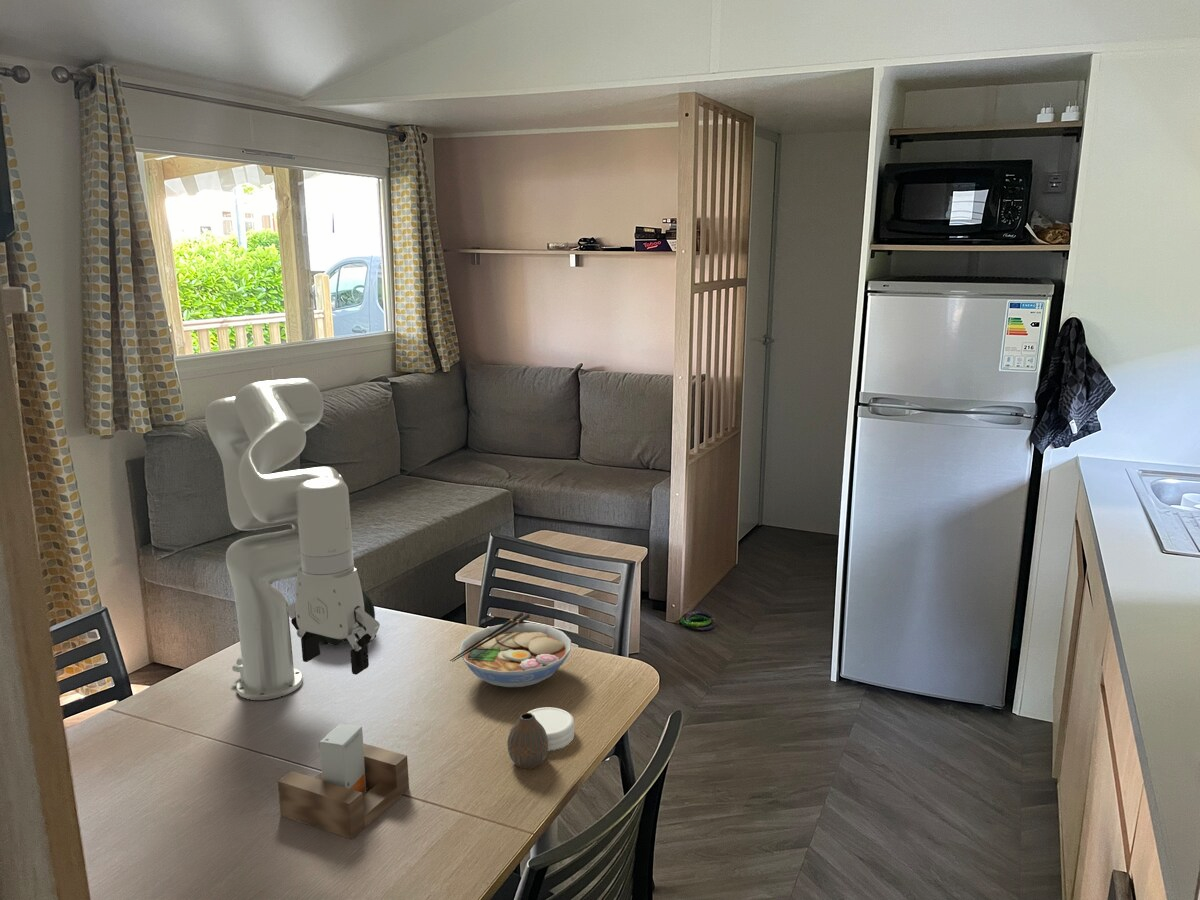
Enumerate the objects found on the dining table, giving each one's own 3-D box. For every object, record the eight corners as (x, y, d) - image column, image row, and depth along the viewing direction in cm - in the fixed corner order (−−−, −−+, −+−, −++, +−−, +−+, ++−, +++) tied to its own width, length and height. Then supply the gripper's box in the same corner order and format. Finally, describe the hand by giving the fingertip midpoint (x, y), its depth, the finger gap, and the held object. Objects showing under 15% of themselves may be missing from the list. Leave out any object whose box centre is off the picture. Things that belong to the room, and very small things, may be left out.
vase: (554, 755, 155) (553, 709, 153) (539, 777, 149) (538, 729, 147) (518, 748, 157) (516, 703, 155) (501, 769, 151) (499, 722, 149)
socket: (281, 815, 139) (277, 781, 138) (341, 768, 152) (339, 736, 150) (352, 839, 133) (349, 803, 132) (409, 788, 146) (407, 755, 144)
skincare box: (347, 814, 139) (342, 745, 136) (323, 810, 140) (317, 741, 138) (368, 792, 145) (363, 725, 142) (344, 788, 146) (339, 721, 143)
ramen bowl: (525, 721, 166) (523, 681, 164) (432, 690, 178) (430, 652, 176) (596, 668, 187) (596, 631, 185) (509, 643, 198) (508, 609, 197)
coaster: (579, 725, 165) (579, 708, 164) (568, 755, 155) (567, 737, 154) (526, 721, 167) (526, 703, 166) (512, 750, 157) (512, 732, 156)
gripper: (265, 559, 135) (275, 663, 139) (356, 577, 127) (364, 686, 131) (301, 544, 141) (310, 644, 145) (389, 560, 134) (396, 665, 138)
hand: (335, 664), depth 138 cm, fingers open, 9 cm apart
